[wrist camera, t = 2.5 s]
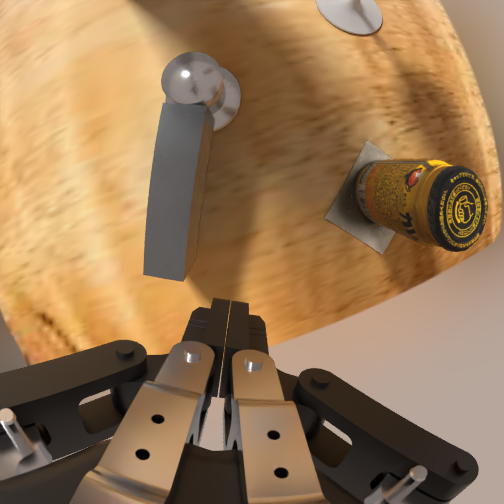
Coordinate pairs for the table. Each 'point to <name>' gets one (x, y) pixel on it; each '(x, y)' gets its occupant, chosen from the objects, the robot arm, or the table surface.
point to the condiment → (410, 202)
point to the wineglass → (351, 15)
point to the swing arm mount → (226, 101)
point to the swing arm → (181, 164)
